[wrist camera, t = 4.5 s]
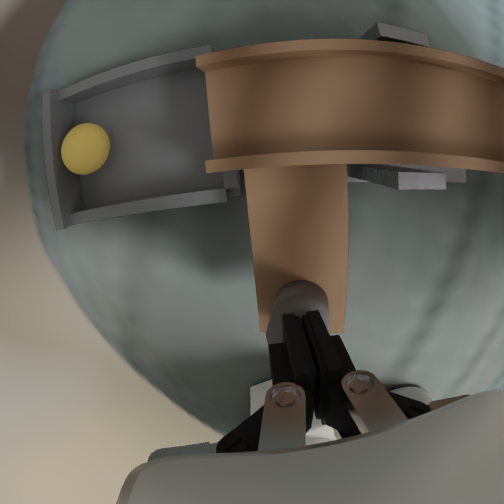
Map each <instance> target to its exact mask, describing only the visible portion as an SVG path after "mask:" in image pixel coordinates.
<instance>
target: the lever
mask: <svg viewBox="0 0 504 504" xmlns="http://www.w3.org/2000/svg"><path fill="white" fill-rule="evenodd" d="M195 58H196V67H197V68H199V69H200V70H202V71H203V72H205V76H206V88H207V99H208V109H209V120H210V130H211V139H212V149H213V158H214V160H207V161H205V165H206V173H213V172H222V171H231V170H241V169H244V176H245V186H246V196H247V206H248V216H249V225H250V235H251V245H252V255H253V265H254V274H255V284H256V294H257V304H258V314H259V323H260V332H266V338H267V342H268V344H274V343H283V329H282V314H290V313H294V314H295V316H299V317H300V320H301V323H302V315H306V312H307V311H314V310H319V312H320V314H321V316H322V319H323V321H324V323H325V325H326V328H327V330H328V332H329V335H330V333H344V325H345V312H346V297H347V278H348V238H349V222H348V182H347V164H401V165H423V166H438V167H451V168H462V169H472V170H480V171H488V172H496V173H503V174H504V68H501V67H499V66H496V65H493V64H490V63H487V62H484V61H481V60H478V59H474V58H471V57H468V56H464V55H460V54H456V53H452V52H448V51H444V50H439V49H434V48H429V47H424V46H418V45H412V44H405V43H397V42H389V41H378V40H363V39H306V40H291V41H280V42H271V43H263V44H255V45H249V46H243V47H237V48H232V49H226V50H221V51H217V52H212V53H208V54H204V55H200V56H196V57H195Z"/></svg>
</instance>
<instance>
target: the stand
mask: <svg viewBox="0 0 504 504" xmlns="http://www.w3.org/2000/svg"><path fill="white" fill-rule="evenodd" d="M360 39H363V40H378V41H389V42H397V43H405V44H412V45H418V46H424V47H429V48H430V44H429V40H428V36H427V34H423V33H420V32H416V31H413V30H409V29H405V28H401V27H397V26H393V25H388V24H383V23H378V22H377V23H376V24H375V25H374V26H373V27H372V28H370V29H369V30H368V31H367V32H366V33H365V34H364V35H363V36H362V37H361V38H360ZM347 182H372V183H376V184H380V185H384V186H388V187H391V188H395V189H398V190H403V189H446V182H457V183H466V169H462V168H451V167H438V166H423V165H401V164H347Z"/></svg>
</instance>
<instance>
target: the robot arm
mask: <svg viewBox="0 0 504 504" xmlns="http://www.w3.org/2000/svg"><path fill="white" fill-rule="evenodd" d="M282 329H283V343H274V344H268V346H269V358H270V369H271V378H272V387H271V388H269V390H268V391H267V393H266V395H265V403H264V405H263V406H262V407H261V408H259V409H258V410H257V411H256V412H255V413H253V414H252V415H251V416H250V417H249V418H247V419H246V420H245V421H244V422H242V423H241V424H240V425H239V426H237V427H236V428H235V429H233V430H232V431H231V432H230V433H228V434H227V435H226V436H224V437H223V438H222V439H221V440H220V441H219V442H218V443H213V444H210V443H209V442H205V443H200V444H193V445H186V446H179V447H171V448H162V449H158V450H156V451H154V452H153V453H151V455H150V456H149V458H148V462H146V463H143V464H141V465H139V466H137V467H136V468H134V469H133V470H132V471H131V472H130V473H129V475H128V476H127V478H126V480H125V482H124V484H123V486H122V488H121V491H120V494H119V497H118V500H117V503H116V504H504V390H492V391H485V392H480V393H476V394H473V395H462V396H458V397H453V398H448V399H443V400H437V401H431V402H429V404H427V405H426V404H425V403H423V402H421V401H418V400H414V399H411V398H408V397H405V396H402V395H399V394H396V393H393V392H390V391H387V390H386V389H385V388H384V387H383V385H382V384H381V383H380V382H379V380H378V379H377V378H376V377H375V376H374V375H373V374H372V373H370V372H367V371H363V370H357V371H356V369H355V367H354V365H353V363H352V361H351V359H350V356H349V354H348V352H347V350H346V348H345V346H344V344H343V342H342V340H341V338H340V336H339V335H334V336H330V335H329V332H328V330H327V328H326V325H325V323H324V321H323V319H322V316H321V314H320V312H319V310H314V311H307V312H306V315H302V323H301V320H300V317H299V316H295V314H294V313H290V314H282ZM314 413H315V417H316V419H321V423H322V425H327V426H330V427H332V428H333V431H334V435H335V437H336V439H337V440H333V441H328V442H323V443H317V444H312V445H306V433H307V432H308V431H309V430H310V429H311V427H312V420H313V415H314Z"/></svg>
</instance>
